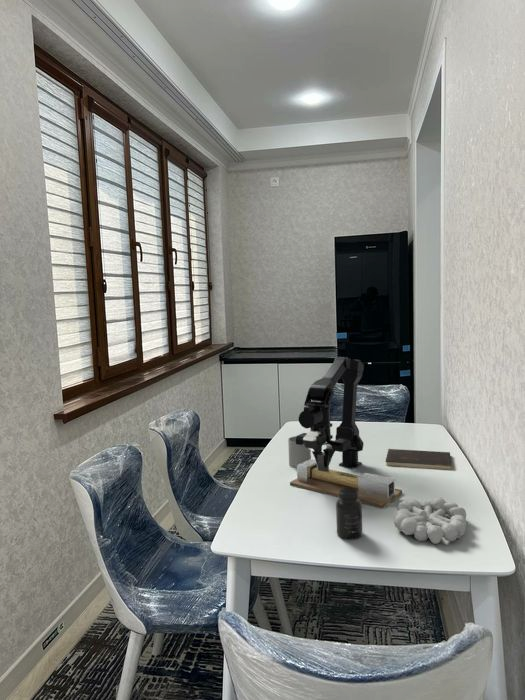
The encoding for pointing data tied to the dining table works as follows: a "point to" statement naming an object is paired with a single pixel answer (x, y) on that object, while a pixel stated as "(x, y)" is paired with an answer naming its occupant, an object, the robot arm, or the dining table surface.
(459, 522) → the campfire
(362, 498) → the board
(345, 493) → the supplement bottle
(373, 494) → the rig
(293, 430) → the dining table surface
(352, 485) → the brass t-shaped handle
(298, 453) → the cup
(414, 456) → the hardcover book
